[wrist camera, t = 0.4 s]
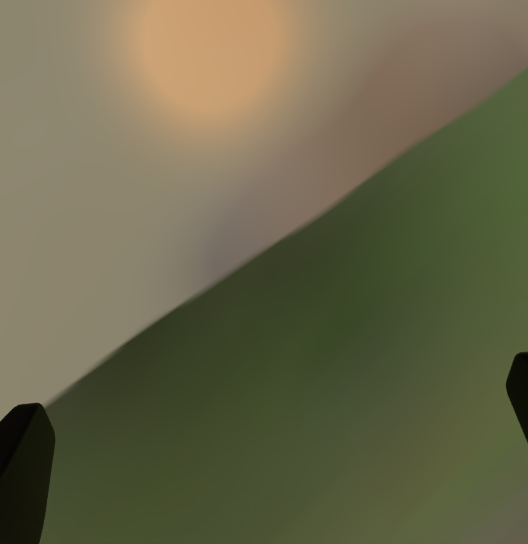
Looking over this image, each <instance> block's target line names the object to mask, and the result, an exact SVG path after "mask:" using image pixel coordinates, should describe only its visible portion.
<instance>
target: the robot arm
mask: <svg viewBox="0 0 528 544" xmlns="http://www.w3.org/2000/svg"><path fill="white" fill-rule="evenodd" d="M506 390H507V394H508V396H509V399H510V401H511V404H512V406H513V409H514V411H515V413H516V416H517V418H518V421H519V423H520V425H521V428H522V430H523V433H524V435H525V438H526V440H527V442H528V352H520V353H518V354H517V355H516V356H515V357H514V360H513V363H512V366H511V369H510V372H509V375H508V378H507V381H506ZM54 447H55V433H54V429H53V427H52V425H51V423H50V420H49V418H48V416H47V414H46V411H45V409H44V407H43V406H42V405H41V404H40V403H30V404H21V405H18V406H16V407H14V408H13V409H12V410H11V411H10V412H9V413H8V414H7V415H6V416H5V417H4V418H3V419H2V420H1V421H0V544H39V542H40V538H41V533H42V529H43V524H44V518H45V512H46V505H47V498H48V491H49V484H50V476H51V469H52V462H53V455H54Z"/></svg>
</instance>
